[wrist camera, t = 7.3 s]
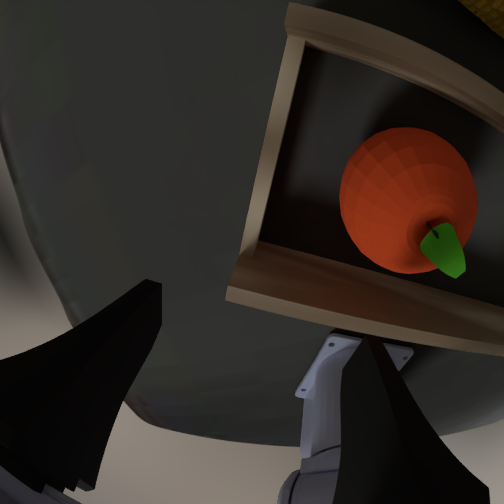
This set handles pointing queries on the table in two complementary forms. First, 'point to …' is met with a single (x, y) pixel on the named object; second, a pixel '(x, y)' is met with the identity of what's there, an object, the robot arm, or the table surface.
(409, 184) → the clementine
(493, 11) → the food
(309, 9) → the crate
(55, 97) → the table surface
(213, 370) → the table surface
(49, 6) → the table surface
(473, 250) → the table surface
